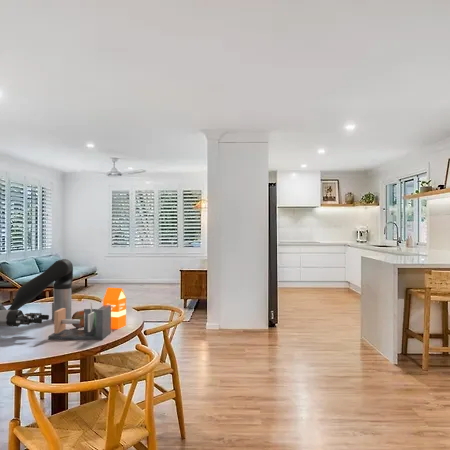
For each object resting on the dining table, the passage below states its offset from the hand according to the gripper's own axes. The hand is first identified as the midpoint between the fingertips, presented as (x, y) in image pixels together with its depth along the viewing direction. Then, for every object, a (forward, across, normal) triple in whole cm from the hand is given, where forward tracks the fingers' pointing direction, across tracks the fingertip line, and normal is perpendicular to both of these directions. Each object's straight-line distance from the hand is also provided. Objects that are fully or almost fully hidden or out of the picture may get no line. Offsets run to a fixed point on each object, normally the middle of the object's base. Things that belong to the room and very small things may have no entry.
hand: (45, 319), depth 184 cm
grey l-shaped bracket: (+17, 0, -7) cm, 18 cm away
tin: (+12, -19, -8) cm, 24 cm away
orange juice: (+28, -18, -7) cm, 34 cm away
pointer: (+22, +1, -4) cm, 23 cm away
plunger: (+12, +1, -5) cm, 13 cm away
